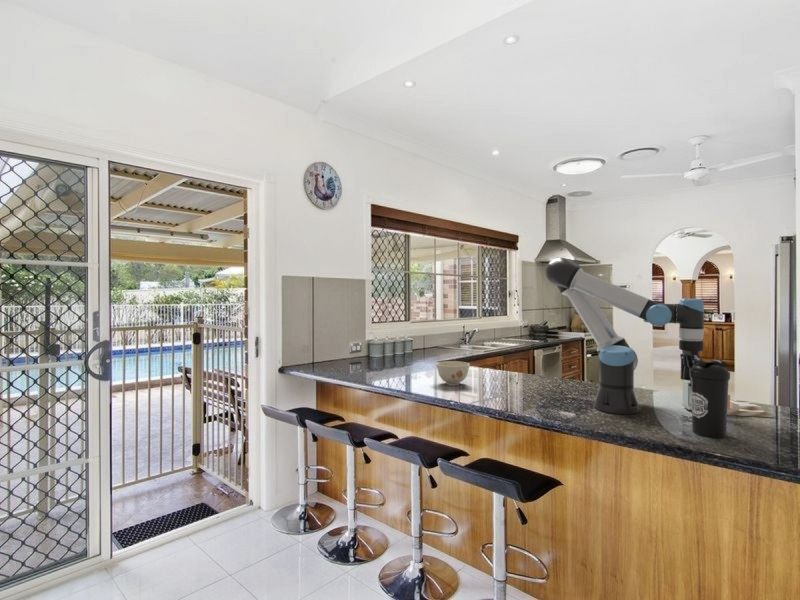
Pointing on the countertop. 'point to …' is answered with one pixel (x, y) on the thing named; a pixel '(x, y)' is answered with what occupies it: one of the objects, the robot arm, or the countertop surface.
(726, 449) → the countertop surface
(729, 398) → the block
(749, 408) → the lane board
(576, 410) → the countertop surface
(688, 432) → the countertop surface
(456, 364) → the bowl
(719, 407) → the water bottle
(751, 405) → the broken strip
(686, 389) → the strip
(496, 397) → the countertop surface
